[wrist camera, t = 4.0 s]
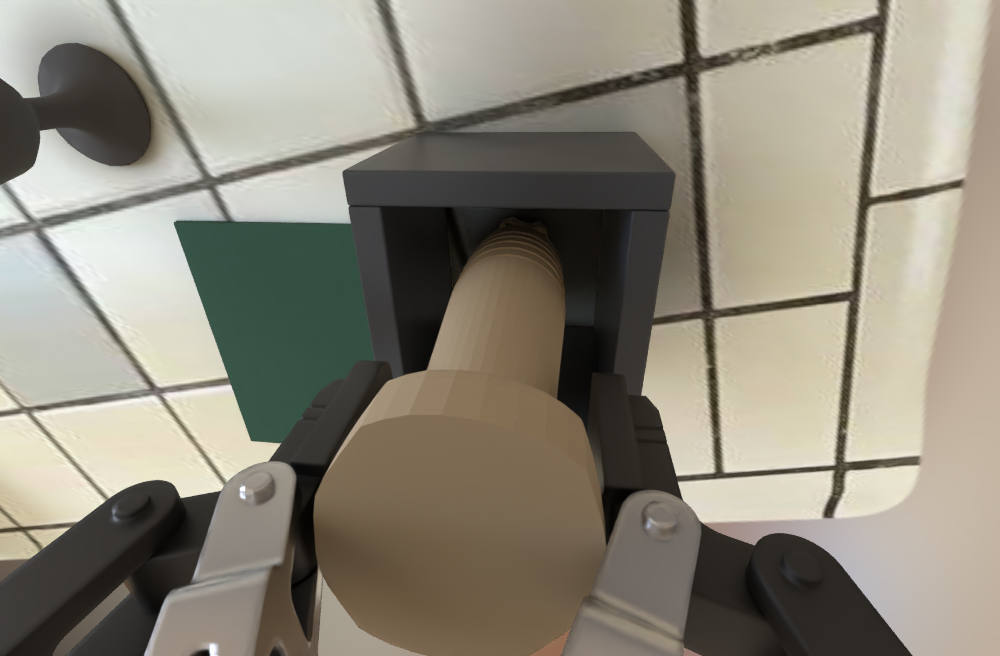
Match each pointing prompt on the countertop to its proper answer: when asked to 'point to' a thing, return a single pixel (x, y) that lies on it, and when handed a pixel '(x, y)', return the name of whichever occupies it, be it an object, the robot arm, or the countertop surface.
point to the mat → (279, 312)
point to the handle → (471, 475)
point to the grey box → (511, 184)
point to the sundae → (74, 111)
